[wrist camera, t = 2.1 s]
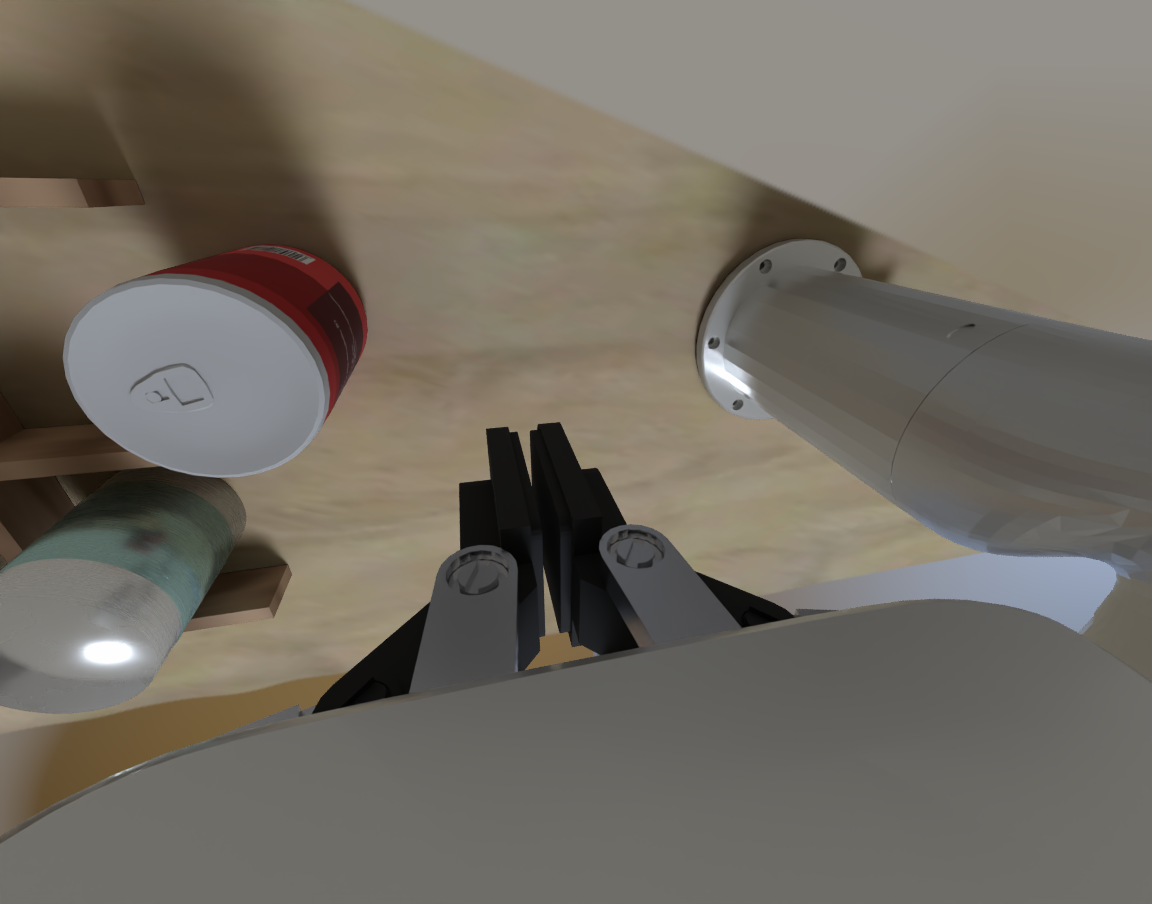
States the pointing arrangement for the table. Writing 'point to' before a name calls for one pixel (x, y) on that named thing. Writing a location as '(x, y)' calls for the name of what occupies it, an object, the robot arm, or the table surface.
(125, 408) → the canned food
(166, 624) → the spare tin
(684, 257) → the table surface
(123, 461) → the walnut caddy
